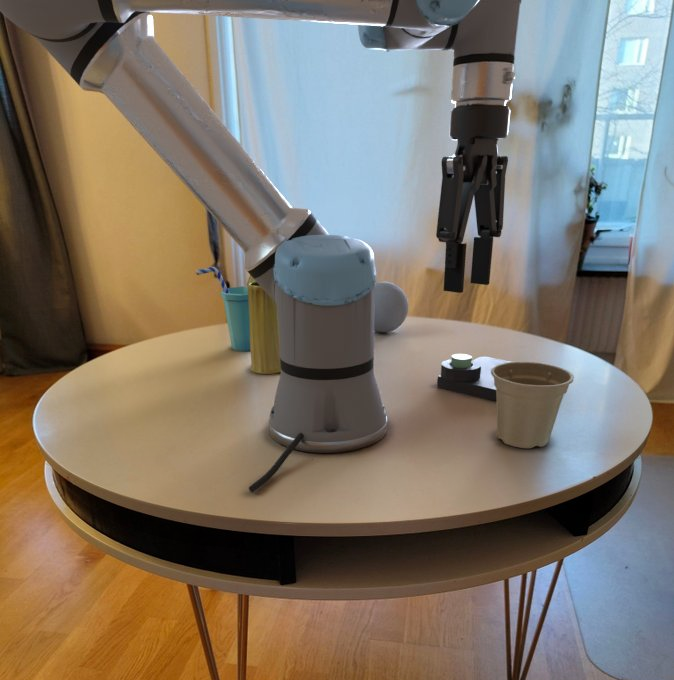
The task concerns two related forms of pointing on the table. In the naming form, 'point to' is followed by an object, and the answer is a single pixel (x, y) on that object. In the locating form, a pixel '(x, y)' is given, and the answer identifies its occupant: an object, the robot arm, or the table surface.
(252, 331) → the vase
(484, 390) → the scale
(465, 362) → the button
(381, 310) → the decorative stone
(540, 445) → the flower pot
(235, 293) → the cup
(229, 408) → the table surface
